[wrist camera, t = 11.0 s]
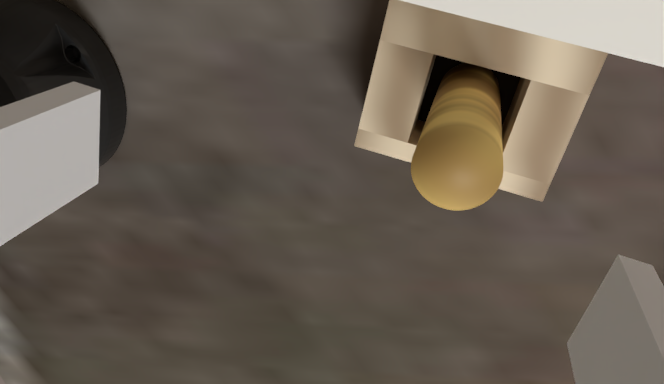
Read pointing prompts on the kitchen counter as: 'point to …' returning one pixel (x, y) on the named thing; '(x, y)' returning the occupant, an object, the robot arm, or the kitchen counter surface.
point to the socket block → (489, 52)
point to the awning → (575, 22)
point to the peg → (461, 141)
